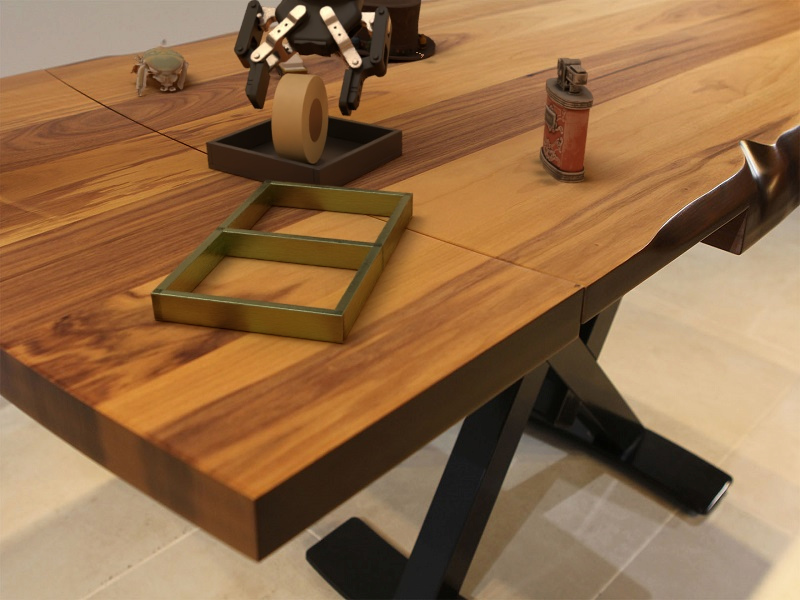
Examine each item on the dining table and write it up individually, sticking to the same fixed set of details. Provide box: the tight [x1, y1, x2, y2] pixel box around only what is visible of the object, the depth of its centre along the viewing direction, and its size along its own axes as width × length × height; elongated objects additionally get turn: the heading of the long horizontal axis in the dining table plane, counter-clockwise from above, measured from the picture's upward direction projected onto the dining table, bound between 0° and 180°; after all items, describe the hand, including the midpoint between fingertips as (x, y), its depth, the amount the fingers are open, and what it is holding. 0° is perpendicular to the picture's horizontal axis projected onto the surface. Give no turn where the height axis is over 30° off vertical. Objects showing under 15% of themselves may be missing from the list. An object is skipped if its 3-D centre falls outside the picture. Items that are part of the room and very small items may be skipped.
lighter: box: [539, 57, 594, 183], centre depth 79 cm, size 8×3×10 cm, turn 6°
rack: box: [150, 180, 414, 344], centre depth 63 cm, size 13×21×2 cm, turn 167°
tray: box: [205, 114, 403, 187], centre depth 82 cm, size 13×13×2 cm
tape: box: [271, 73, 329, 164], centre depth 79 cm, size 3×8×8 cm, turn 167°
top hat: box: [351, 0, 436, 61], centre depth 121 cm, size 15×15×10 cm
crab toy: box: [129, 45, 191, 97], centre depth 106 cm, size 9×11×5 cm
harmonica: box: [274, 42, 308, 78], centre depth 114 cm, size 15×3×2 cm, turn 17°
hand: (299, 108), depth 78 cm, fingers open, 8 cm apart
